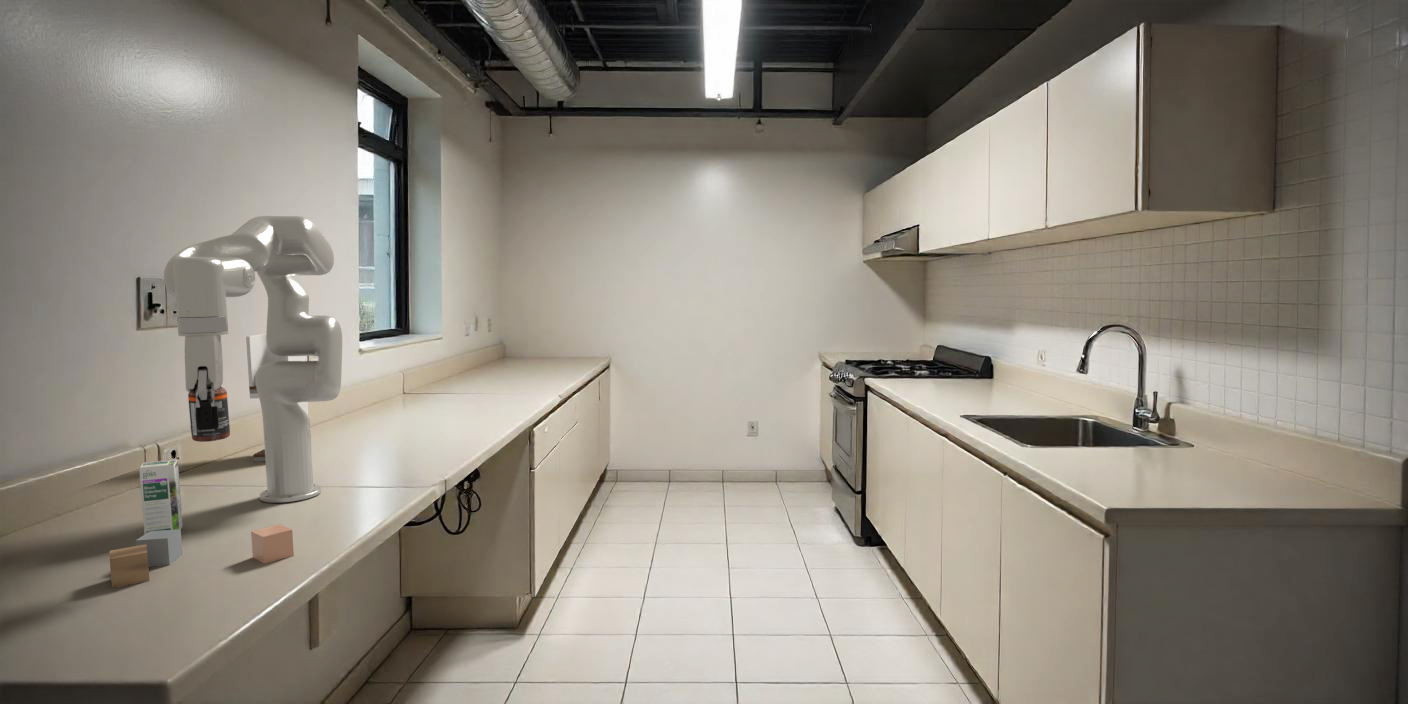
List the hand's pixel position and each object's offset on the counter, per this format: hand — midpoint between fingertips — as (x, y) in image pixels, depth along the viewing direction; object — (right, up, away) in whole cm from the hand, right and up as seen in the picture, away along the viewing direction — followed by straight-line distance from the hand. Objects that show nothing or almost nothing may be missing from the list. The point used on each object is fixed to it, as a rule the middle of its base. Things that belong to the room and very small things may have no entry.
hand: (210, 424), depth 138 cm
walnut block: (-7, -25, -9) cm, 28 cm away
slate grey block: (-8, -25, -1) cm, 26 cm away
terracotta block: (+11, -24, +1) cm, 27 cm away
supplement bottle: (0, -3, 0) cm, 3 cm away
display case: (-31, -17, +80) cm, 88 cm away
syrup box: (-18, -23, +14) cm, 33 cm away
